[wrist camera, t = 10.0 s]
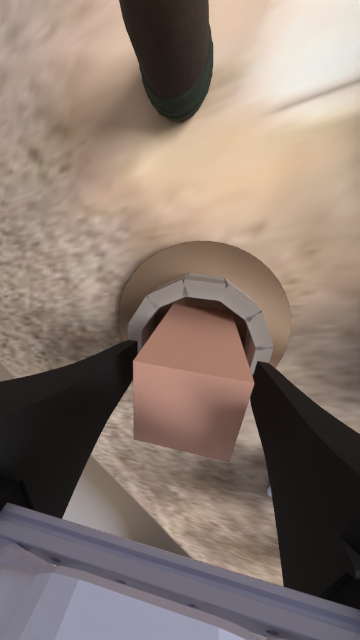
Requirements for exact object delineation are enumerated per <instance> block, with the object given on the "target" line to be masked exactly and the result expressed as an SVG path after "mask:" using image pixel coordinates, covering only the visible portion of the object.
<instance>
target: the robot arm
mask: <svg viewBox="0 0 360 640" xmlns="http://www.w3.org/2000/svg"><path fill="white" fill-rule="evenodd" d="M137 355H138V341H133V340H126V341H124V342H122V343H119V344H117V345H115V346H113V347H111V348H109V349H107V350H105V351H102V352H100V353H98V354H96V355H93V356H91V357H88V358H86V359H84V360H81V361H79V362H76V363H73V364H70V365H67V366H64V367H61V368H57V369H54V370H50V371H46V372H43V373H39V374H35V375H31V376H26V377H22V378H17V379H12V380H6V381H1V382H0V640H260V639H259V638H257V637H256V636H255V635H253V634H252V633H251V632H253V633H256V634H259V635H262V636H265V637H267V640H360V434H359V433H357V432H356V431H354V430H353V429H351V428H350V427H348V426H347V425H345V424H344V423H342V422H341V421H339V420H338V419H337V418H335V417H334V416H332V415H331V414H330V413H328V412H327V411H325V410H324V409H323V408H321V407H320V406H319V405H317V404H316V403H315V402H314V401H312V400H311V399H310V398H309V397H307V396H306V395H305V394H304V393H303V392H301V391H300V390H299V389H298V388H297V387H296V386H294V385H293V384H292V383H291V382H290V381H289V380H288V379H287V378H285V377H284V376H283V375H282V374H281V373H280V372H279V371H278V370H277V369H275V368H274V367H273V366H272V365H271V364H269V363H266V362H260V361H257V364H256V367H255V370H254V374H253V380H254V386H253V390H252V393H251V396H250V401H251V407H252V410H253V414H254V418H255V421H256V425H257V428H258V432H259V436H260V439H261V443H262V446H263V450H264V455H265V459H266V465H267V470H268V476H269V481H270V486H269V488H268V490H267V493H268V496H270V497H272V500H273V506H274V513H275V520H276V527H277V534H278V542H279V550H280V558H281V567H282V575H283V584H284V587H283V586H279V585H276V584H273V583H270V582H266V581H263V580H260V579H257V578H253V577H250V576H247V575H243V574H240V573H237V572H234V571H230V570H227V569H224V568H220V567H217V566H214V565H211V564H207V563H204V562H201V561H198V560H194V559H191V558H188V557H184V556H181V555H178V554H174V553H171V552H168V551H165V550H161V549H158V548H155V547H152V546H148V545H145V544H142V543H138V542H135V541H132V540H129V539H125V538H122V537H119V536H116V535H112V534H109V533H106V532H102V531H99V530H96V529H93V528H89V527H86V526H83V525H80V524H76V523H73V522H70V521H66V520H63V519H62V517H63V515H64V513H65V510H66V508H67V506H68V503H69V501H70V499H71V496H72V494H73V491H74V489H75V487H76V485H77V482H78V480H79V478H80V476H81V474H82V471H83V469H84V467H85V465H86V463H87V460H88V459H89V456H90V454H91V452H92V450H93V448H94V446H95V444H96V442H97V440H98V438H99V436H100V434H101V432H102V430H103V428H104V426H105V424H106V422H107V420H108V419H109V417H110V415H111V414H112V412H113V410H114V409H115V407H116V406H117V404H118V403H119V401H120V399H121V398H122V396H123V395H124V393H125V392H126V390H127V388H128V387H129V385H130V384H131V382H132V380H133V361H134V359H135V358H136V356H137ZM50 563H51V564H50ZM52 564H54V565H57V566H53V565H52ZM250 631H251V632H250Z"/></svg>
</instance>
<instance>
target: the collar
mask: <svg viewBox="0 0 360 640" xmlns="http://www.w3.org/2000/svg"><path fill="white" fill-rule="evenodd" d="M174 303H176V304H183V305H190V306H198V307H205V308H212V309H219V310H226V311H231V312H232V315H233V318H234V321H235V324H236V327H237V330H238V333H239V336H240V340H241V343H242V346H243V349H244V352H245V355H246V358H247V361H248V365H249V368H250V371H251V374H252V377H253V374H254V370H255V367H256V364H257V361H260V362H266V363H269V364H271V365H272V366H273V367H274V368H275V367H276V366H277V365H278V363H279V361H280V360H281V358H282V357H283V355H284V352H285V350H286V348H287V345H288V341H289V338H290V332H291V312H290V307H289V302H288V299H287V297H286V294H285V291H284V289H283V287H282V286H281V284H280V282H279V280H278V279H277V278H276V276H275V275H274V274H273V273H272V271H271V270H270V269H269V268H268V267H267V266H266V265H264V264H263V263H262V262H261V261H260V260H259V259H257V258H256V257H254V256H253V255H251V254H250V253H248V252H246V251H244V250H241V249H239V248H237V247H234V246H231V245H228V244H225V243H219V242H212V241H194V242H186V243H181V244H178V245H174V246H171V247H169V248H166V249H164V250H162V251H160V252H158V253H156V254H155V255H153V256H151V257H150V258H149V259H148V260H146V261H145V262H144V263H143V264H142V265H141V266H140V267H139V268H138V269H137V270H136V271H135V272H134V273H133V275H132V276H131V278H130V279H129V281H128V283H127V285H126V287H125V289H124V291H123V294H122V297H121V300H120V306H119V316H118V322H119V331H120V335H121V339H122V342H124V341H126V340H133V341H138V353H139V352H140V351H141V349H142V348H143V346H144V345H145V344H146V342H147V341H148V339H149V338H150V336H151V335H152V334H153V332H154V331H155V329H156V328H157V326H158V325H159V324H160V322H161V321H162V319H163V318H164V316H165V315H166V314H167V312H168V311H169V309H170V308H171V307H172V305H173V304H174Z"/></svg>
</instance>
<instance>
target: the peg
mask: <svg viewBox="0 0 360 640" xmlns="http://www.w3.org/2000/svg"><path fill="white" fill-rule="evenodd" d="M253 386H254V380H253V377H252V374H251V371H250V368H249V365H248V361H247V358H246V355H245V352H244V349H243V346H242V343H241V340H240V336H239V333H238V330H237V327H236V324H235V321H234V318H233V315H232V312H231V311H226V310H219V309H212V308H205V307H198V306H190V305H183V304H176V303H174V304H173V305H172V307H171V308H170V309H169V311H168V312H167V314H166V315H165V316H164V318H163V319H162V321H161V322H160V324H159V325H158V326H157V328H156V329H155V331H154V332H153V334H152V335H151V336H150V338H149V339H148V341H147V342H146V344H145V345H144V346H143V348H142V349H141V351H140V352H139V353H138V355H137V356H136V358H135V359H134V361H133V400H134V439H135V440H139V441H143V442H147V443H151V444H156V445H160V446H164V447H168V448H173V449H177V450H181V451H185V452H190V453H194V454H198V455H202V456H206V457H211V458H215V459H219V460H223V461H228V462H229V461H230V458H231V455H232V452H233V449H234V445H235V442H236V439H237V436H238V433H239V430H240V427H241V424H242V421H243V417H244V414H245V411H246V408H247V405H248V402H249V399H250V396H251V393H252V390H253Z"/></svg>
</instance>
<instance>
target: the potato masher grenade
mask: <svg viewBox="0 0 360 640" xmlns="http://www.w3.org/2000/svg"><path fill="white" fill-rule="evenodd" d="M119 2H120V6H121V11H122V16H123V20H124V23H125V27H126V30H127V32H128V35H129V38H130V40H131V43H132V46H133V48H134V51H135V54H136V56H137V59H138V62H139V66H140V71H141V74H142V81H143V84H144V87H145V90H146V92H147V95H148V98H149V99H150V101H151V103H152V105H153V106H154V107H155V109H156V110H157V111H158V112H159V114H160V115H162V116H164V117H166V118H168V119H169V120H172V121H181V122H182V121H184V120H186V119H189V118H191V117H192V116H193V115H194V114H195V113H196V112H197V111H198V110H199V108H200V106H201V104H202V102H203V100H204V99H205V97H206V95H207V93H208V90H209V86H210V82H211V78H212V69H213V42H212V38H211V29H210V25H209V4H208V0H119Z"/></svg>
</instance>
